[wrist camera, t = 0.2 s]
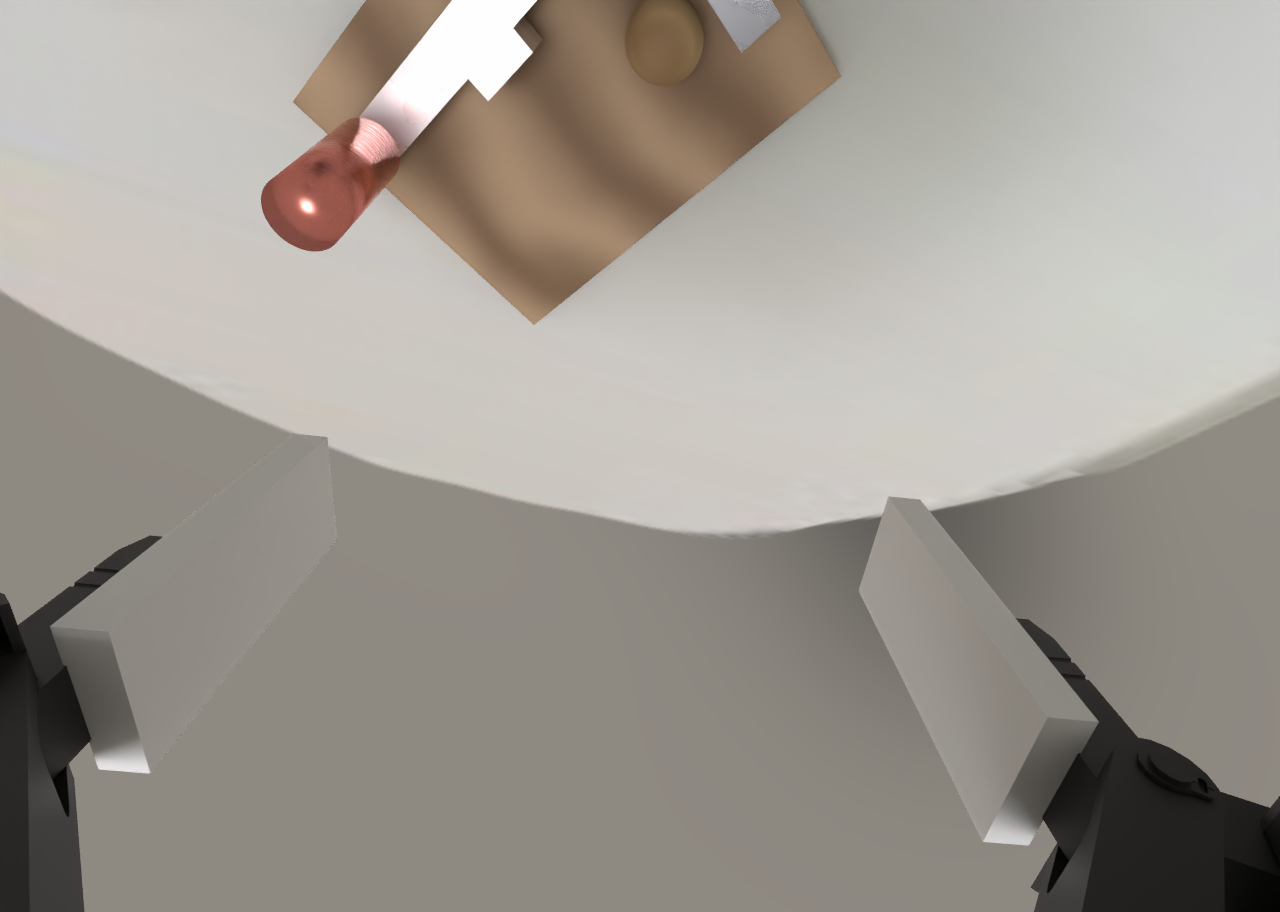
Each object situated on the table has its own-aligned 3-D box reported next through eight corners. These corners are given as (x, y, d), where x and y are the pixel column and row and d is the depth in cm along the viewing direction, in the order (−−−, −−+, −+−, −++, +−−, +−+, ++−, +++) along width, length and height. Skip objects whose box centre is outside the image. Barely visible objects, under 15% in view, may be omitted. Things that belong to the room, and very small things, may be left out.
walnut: (670, -34, 29) (670, -24, 26) (717, 38, 31) (722, 54, 28) (610, 27, 31) (605, 43, 28) (658, 92, 32) (658, 112, 30)
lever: (567, -200, 25) (527, -226, 18) (649, -75, 28) (643, -53, 21) (320, 122, 34) (225, 192, 26) (400, 196, 36) (334, 280, 29)
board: (610, -326, 24) (601, -358, 21) (835, 69, 33) (855, 93, 29) (304, 94, 34) (263, 120, 31) (537, 313, 43) (525, 353, 39)
